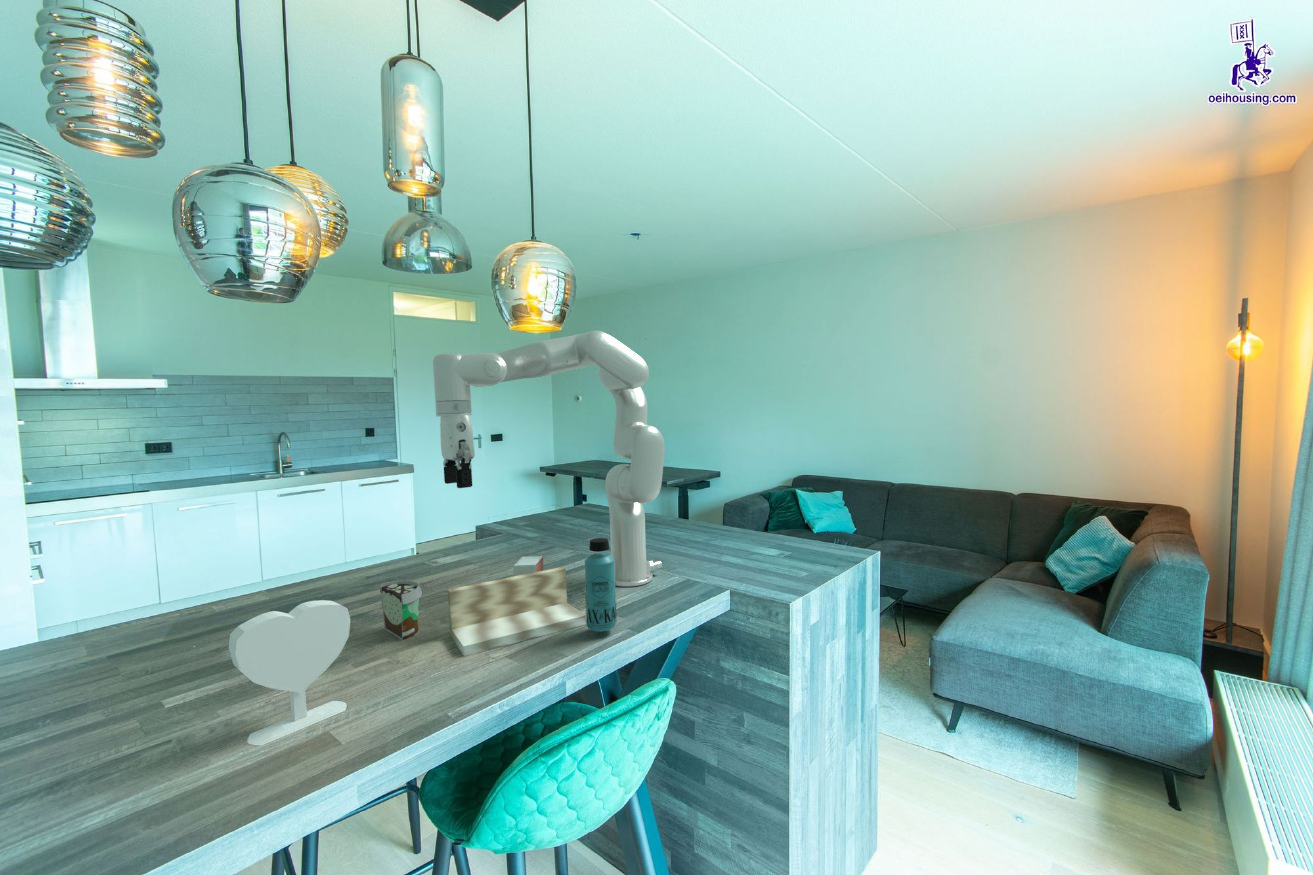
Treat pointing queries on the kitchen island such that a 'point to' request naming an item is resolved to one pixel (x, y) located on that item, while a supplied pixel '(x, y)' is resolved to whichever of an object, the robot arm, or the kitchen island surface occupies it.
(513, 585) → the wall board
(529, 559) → the small box
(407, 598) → the food container
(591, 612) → the beverage bottle
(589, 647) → the kitchen island surface
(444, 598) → the kitchen island surface
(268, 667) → the heart sculpture
